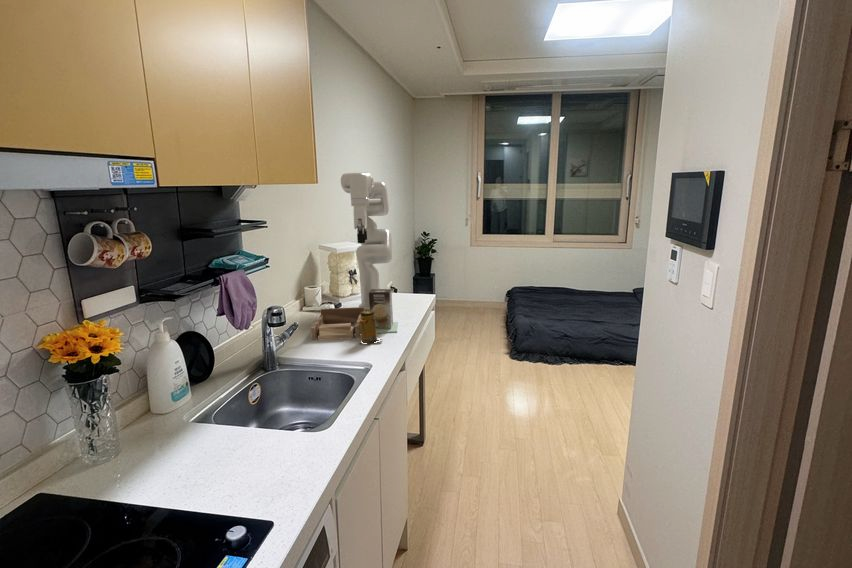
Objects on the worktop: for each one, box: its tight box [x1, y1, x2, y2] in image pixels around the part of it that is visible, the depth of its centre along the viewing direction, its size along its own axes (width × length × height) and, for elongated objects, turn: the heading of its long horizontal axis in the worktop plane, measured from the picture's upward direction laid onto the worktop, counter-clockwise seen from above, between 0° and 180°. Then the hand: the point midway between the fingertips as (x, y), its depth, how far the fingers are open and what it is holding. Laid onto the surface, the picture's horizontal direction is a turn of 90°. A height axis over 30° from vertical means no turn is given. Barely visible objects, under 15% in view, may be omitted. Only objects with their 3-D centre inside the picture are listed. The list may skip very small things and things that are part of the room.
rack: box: [310, 306, 365, 341], centre depth 187 cm, size 22×19×7 cm
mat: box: [376, 321, 399, 334], centre depth 189 cm, size 13×13×1 cm
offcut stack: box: [317, 323, 355, 341], centre depth 179 cm, size 4×14×5 cm, turn 92°
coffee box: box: [369, 288, 394, 329], centre depth 187 cm, size 9×6×16 cm
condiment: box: [360, 310, 383, 345], centre depth 172 cm, size 7×8×12 cm
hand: (362, 241), depth 195 cm, fingers open, 9 cm apart
